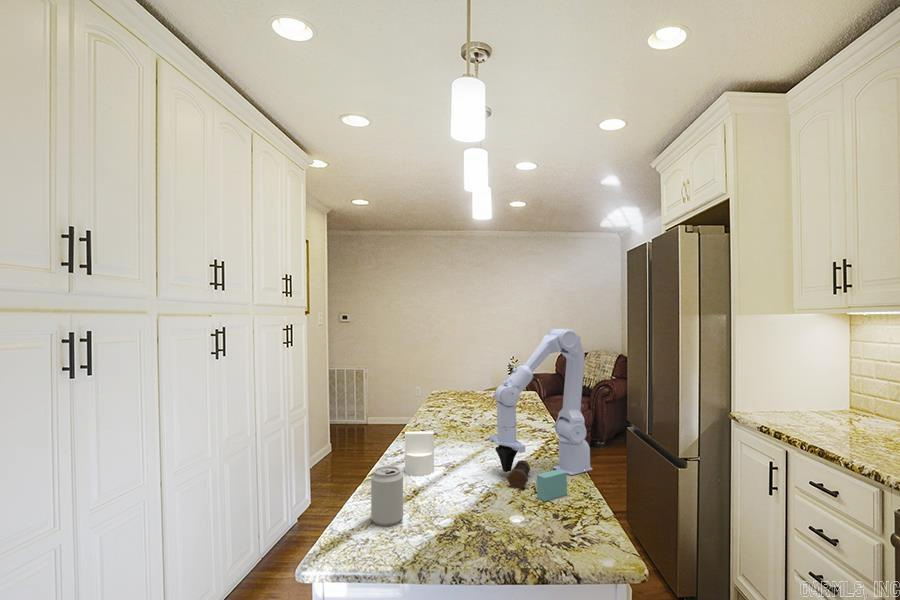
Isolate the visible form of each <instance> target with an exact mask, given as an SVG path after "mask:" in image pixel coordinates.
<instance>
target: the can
mask: <svg viewBox="0 0 900 600" xmlns="http://www.w3.org/2000/svg"><path fill="white" fill-rule="evenodd" d="M370 480H371V481H370V483H371V484H370V485H371V486H370V487H371V488H370V491H371V492H370V494H371V495H370V496H371V497H370V499H371V500H370V502H371V504H370V510H371V511H370V513H371V514H370V515H371V516H370V517H371V520H372V521H373V522H374V523H375V524H376V525H378V526H382V527H389V526H393V525H396V524H398V523H400V521H401V520H402V519H403V517H404V474H403V473H401V469H400V468H399V467H398V466H396V465H395V466H393V465H383V466H379V467H376V468H375V469H374V470H373V474H372V475H371V477H370Z"/></svg>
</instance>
